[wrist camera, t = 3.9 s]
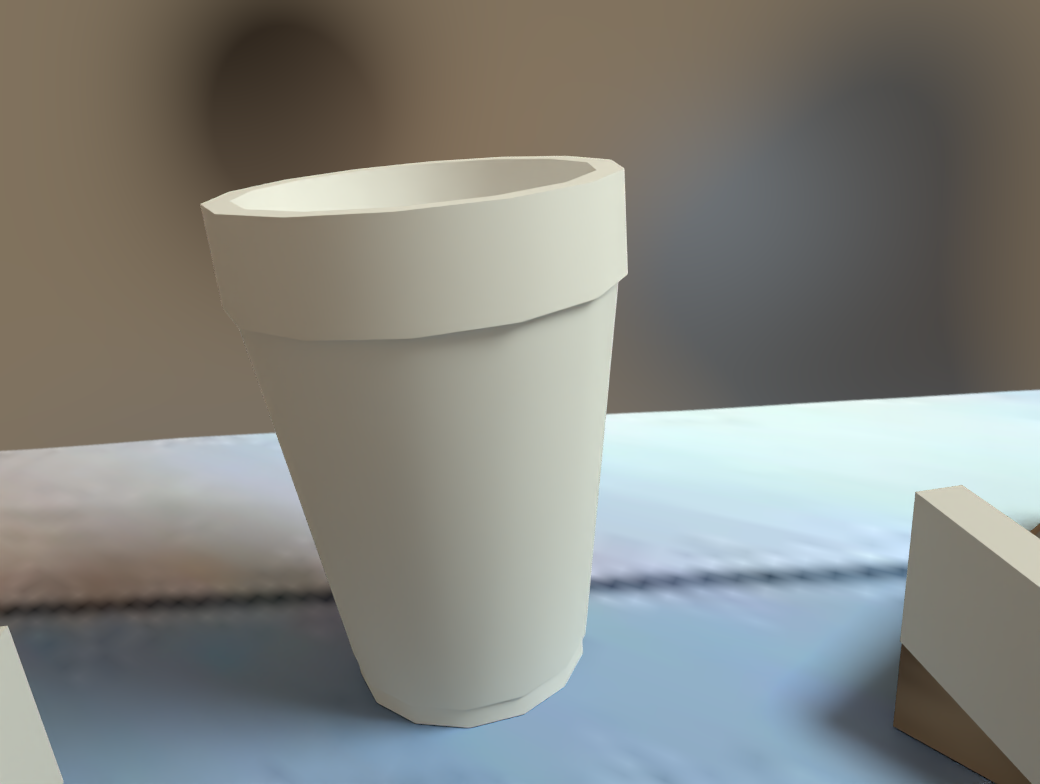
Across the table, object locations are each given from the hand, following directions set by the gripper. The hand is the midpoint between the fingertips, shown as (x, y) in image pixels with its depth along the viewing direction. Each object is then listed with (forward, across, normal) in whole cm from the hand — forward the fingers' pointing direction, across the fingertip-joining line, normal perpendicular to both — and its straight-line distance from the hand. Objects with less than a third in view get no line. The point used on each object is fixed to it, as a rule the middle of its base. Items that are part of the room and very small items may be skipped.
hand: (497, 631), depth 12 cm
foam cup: (+10, 0, -8) cm, 12 cm away
